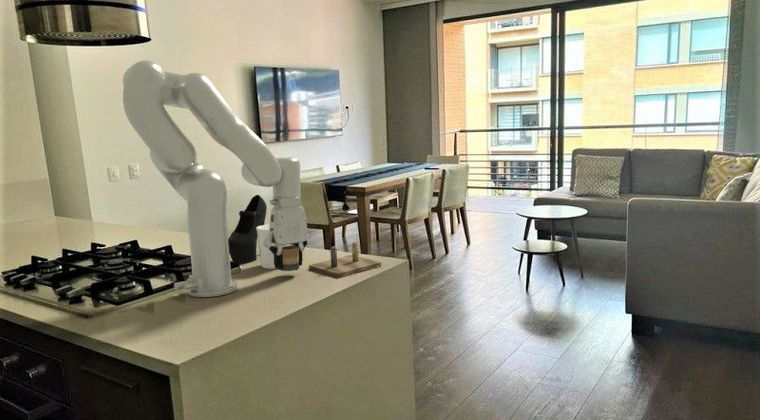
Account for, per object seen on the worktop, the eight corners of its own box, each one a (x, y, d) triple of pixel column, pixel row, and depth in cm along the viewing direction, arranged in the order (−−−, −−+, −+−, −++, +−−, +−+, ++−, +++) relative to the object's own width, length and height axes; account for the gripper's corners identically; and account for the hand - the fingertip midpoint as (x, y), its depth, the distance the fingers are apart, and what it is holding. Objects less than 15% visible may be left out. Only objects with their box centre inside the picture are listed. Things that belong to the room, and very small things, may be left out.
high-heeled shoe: (222, 266, 169) (216, 201, 166) (257, 251, 186) (253, 193, 183) (243, 267, 166) (238, 202, 163) (277, 253, 183) (273, 193, 180)
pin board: (338, 277, 151) (337, 252, 150) (309, 269, 161) (307, 245, 160) (381, 266, 161) (380, 242, 160) (351, 258, 171) (350, 236, 170)
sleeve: (285, 272, 150) (285, 250, 149) (274, 268, 154) (273, 247, 153) (302, 268, 154) (302, 247, 153) (291, 265, 158) (291, 244, 157)
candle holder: (284, 269, 161) (282, 229, 159) (253, 269, 163) (250, 229, 161) (296, 261, 171) (294, 223, 169) (266, 261, 173) (264, 223, 171)
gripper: (266, 206, 143) (268, 274, 145) (320, 201, 154) (321, 264, 157) (252, 203, 148) (254, 269, 151) (305, 199, 160) (306, 259, 162)
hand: (288, 265), depth 154 cm, fingers closed on sleeve, 5 cm apart
